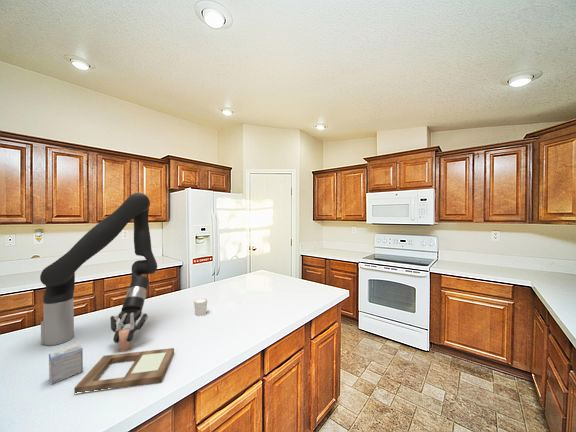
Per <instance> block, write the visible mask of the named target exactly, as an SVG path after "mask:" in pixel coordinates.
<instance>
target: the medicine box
mask: <svg viewBox="0 0 576 432" xmlns="http://www.w3.org/2000/svg"><path fill="white" fill-rule="evenodd" d="M83 349H84V348H83V346H82V345H81V343H75V344H74V345H70V346H67V347H64V348H61V349H58V350H56V351H52V352H49V353H48V371H49V372H48V374H49V375H48V377H49V382H50V385H51V384H52V385H53V383H54V384H56V383H59V382H61V381H63V379H64V380H66V379H68V378H67V377H69V378H71V377H73V376H72V375H74V376H76V375H78V374H77V373H79V374H81V373H83V372H84V355H83V354H84V353H83V352H84V350H83ZM82 371H83V372H82ZM80 372H81V373H80ZM75 374H76V375H75ZM70 376H71V377H70ZM65 378H66V379H65ZM60 380H61V381H60ZM58 381H59V382H58ZM55 382H56V383H55Z"/></svg>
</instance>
